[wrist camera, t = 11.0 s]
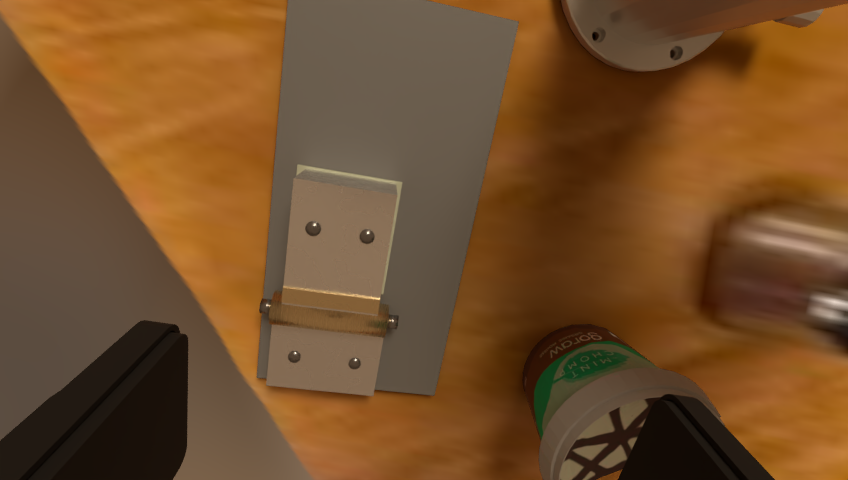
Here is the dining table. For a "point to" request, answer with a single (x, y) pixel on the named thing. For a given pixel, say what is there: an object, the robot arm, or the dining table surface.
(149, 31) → the dining table surface
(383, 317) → the fixed leaf
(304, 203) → the tan studded block
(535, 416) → the food container
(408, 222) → the board
